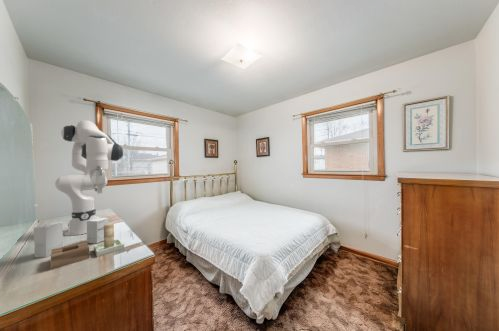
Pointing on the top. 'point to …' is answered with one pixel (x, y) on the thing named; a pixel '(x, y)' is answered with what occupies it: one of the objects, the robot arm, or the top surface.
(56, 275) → the top surface
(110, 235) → the beech dowel
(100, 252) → the sage tray
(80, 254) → the walnut hole block
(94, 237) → the supplement box
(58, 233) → the skincare box
